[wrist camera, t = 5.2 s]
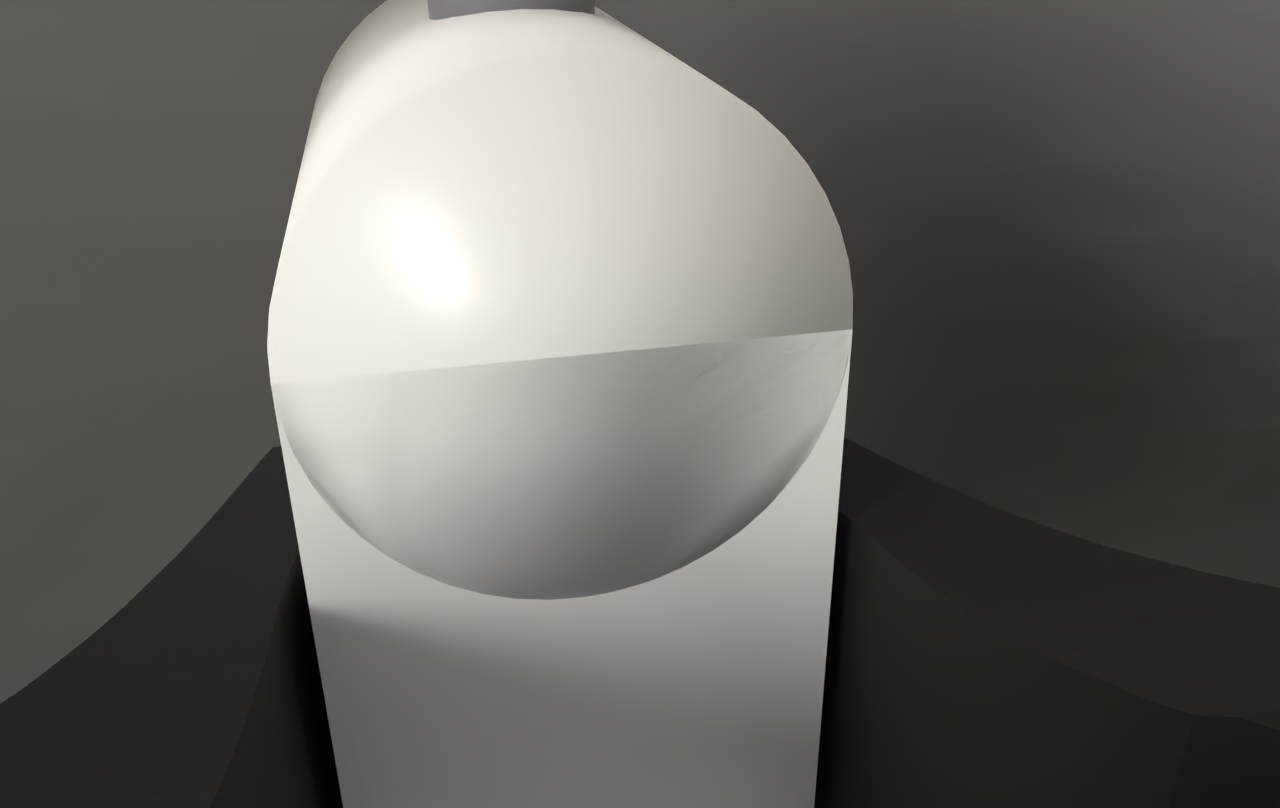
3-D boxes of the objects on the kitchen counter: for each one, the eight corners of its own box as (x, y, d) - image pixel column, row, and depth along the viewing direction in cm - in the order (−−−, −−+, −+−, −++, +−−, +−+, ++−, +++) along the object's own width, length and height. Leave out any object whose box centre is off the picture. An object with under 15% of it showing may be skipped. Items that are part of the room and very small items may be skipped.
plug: (258, -210, 9) (159, -274, 5) (666, -210, 10) (900, -268, 6) (415, 913, 15) (433, 1341, 11) (665, 867, 16) (777, 1252, 11)
